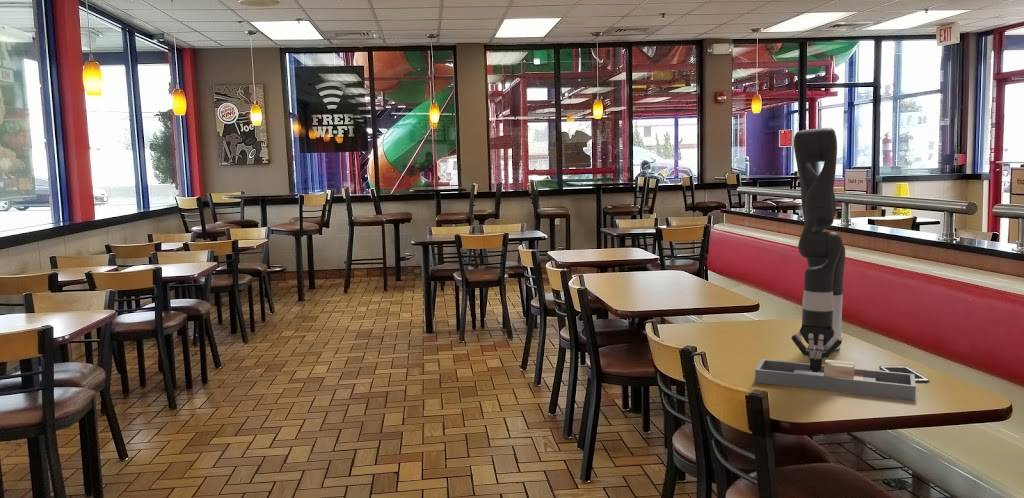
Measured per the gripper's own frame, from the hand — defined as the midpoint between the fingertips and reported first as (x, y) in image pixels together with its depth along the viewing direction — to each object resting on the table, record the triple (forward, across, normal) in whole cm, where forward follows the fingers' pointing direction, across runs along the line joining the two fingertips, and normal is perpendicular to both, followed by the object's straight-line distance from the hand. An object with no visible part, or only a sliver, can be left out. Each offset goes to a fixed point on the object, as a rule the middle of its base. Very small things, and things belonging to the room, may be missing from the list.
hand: (815, 371), depth 206 cm
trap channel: (+3, -4, 0) cm, 5 cm away
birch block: (+1, -6, 0) cm, 6 cm away
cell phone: (+4, -21, -18) cm, 28 cm away
